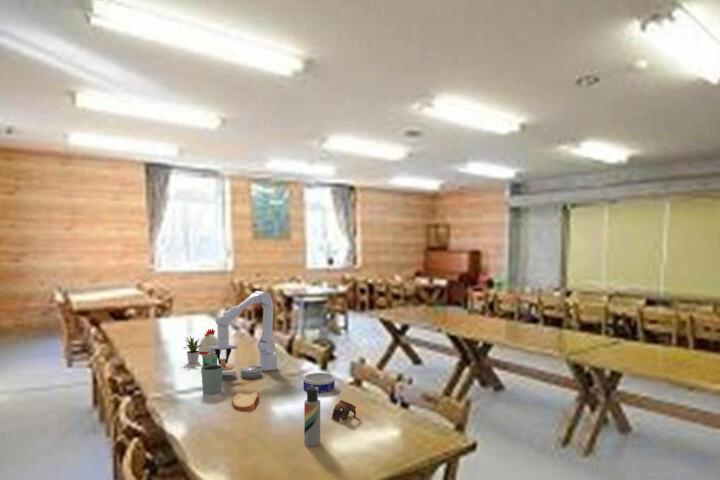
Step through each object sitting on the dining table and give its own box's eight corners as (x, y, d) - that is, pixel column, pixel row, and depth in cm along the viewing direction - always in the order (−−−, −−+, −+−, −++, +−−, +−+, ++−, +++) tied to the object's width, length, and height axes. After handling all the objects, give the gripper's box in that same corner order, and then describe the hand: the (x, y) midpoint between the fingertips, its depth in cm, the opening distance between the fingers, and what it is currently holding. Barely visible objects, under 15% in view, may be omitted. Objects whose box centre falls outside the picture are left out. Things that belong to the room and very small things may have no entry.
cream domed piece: (225, 351, 322) (225, 328, 322) (208, 355, 310) (208, 331, 311) (210, 348, 330) (210, 326, 330) (193, 352, 318) (193, 329, 318)
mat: (235, 372, 271) (235, 371, 271) (237, 379, 257) (237, 377, 257) (205, 374, 266) (205, 373, 266) (205, 381, 252) (205, 380, 252)
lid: (237, 365, 267) (237, 356, 267) (231, 371, 255) (231, 361, 255) (215, 365, 267) (215, 356, 267) (208, 371, 255) (208, 361, 255)
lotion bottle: (311, 439, 180) (311, 384, 180) (323, 442, 177) (323, 386, 177) (301, 444, 175) (301, 388, 175) (313, 448, 172) (313, 390, 172)
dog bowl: (339, 386, 246) (339, 374, 246) (327, 395, 231) (327, 382, 231) (311, 383, 251) (311, 371, 251) (298, 391, 236) (298, 379, 236)
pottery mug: (328, 417, 204) (336, 397, 206) (348, 426, 205) (356, 407, 207) (333, 419, 192) (341, 399, 195) (354, 429, 193) (362, 408, 196)
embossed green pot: (203, 396, 228) (203, 370, 228) (199, 390, 237) (199, 366, 237) (225, 393, 233) (225, 368, 233) (220, 387, 242) (220, 363, 242)
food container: (212, 373, 269) (212, 354, 269) (201, 372, 270) (201, 354, 270) (222, 367, 281) (222, 350, 281) (213, 366, 282) (213, 349, 282)
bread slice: (246, 413, 207) (246, 404, 207) (218, 405, 217) (218, 397, 217) (276, 402, 222) (276, 393, 222) (248, 395, 232) (248, 387, 232)
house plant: (173, 363, 289) (173, 336, 289) (189, 358, 302) (189, 332, 302) (192, 366, 284) (192, 337, 284) (208, 360, 297) (208, 333, 297)
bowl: (260, 372, 270) (260, 365, 270) (263, 377, 260) (263, 370, 260) (239, 374, 267) (239, 366, 267) (241, 379, 256) (241, 371, 256)
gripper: (236, 335, 267) (236, 360, 267) (208, 337, 263) (208, 362, 263) (237, 337, 260) (237, 363, 260) (208, 339, 256) (208, 365, 256)
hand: (223, 363), depth 261 cm, fingers closed on lid, 3 cm apart
